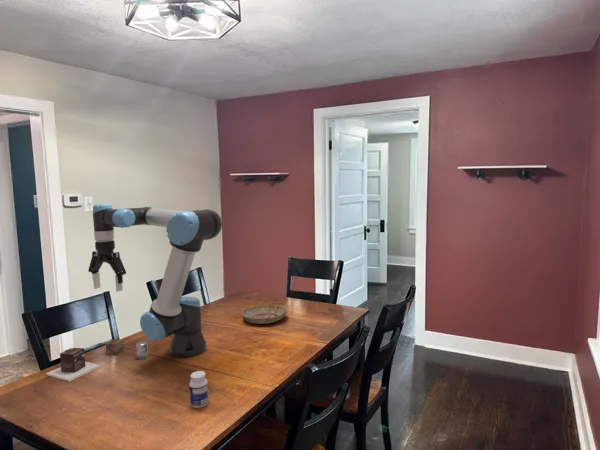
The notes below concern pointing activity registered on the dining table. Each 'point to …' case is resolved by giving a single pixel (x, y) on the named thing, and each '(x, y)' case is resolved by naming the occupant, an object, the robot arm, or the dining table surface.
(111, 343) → the walnut cube
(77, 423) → the dining table surface
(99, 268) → the robot arm
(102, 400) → the dining table surface
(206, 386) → the pill bottle
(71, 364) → the box
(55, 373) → the plate
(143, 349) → the grey tin
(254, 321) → the ceramic bowl
